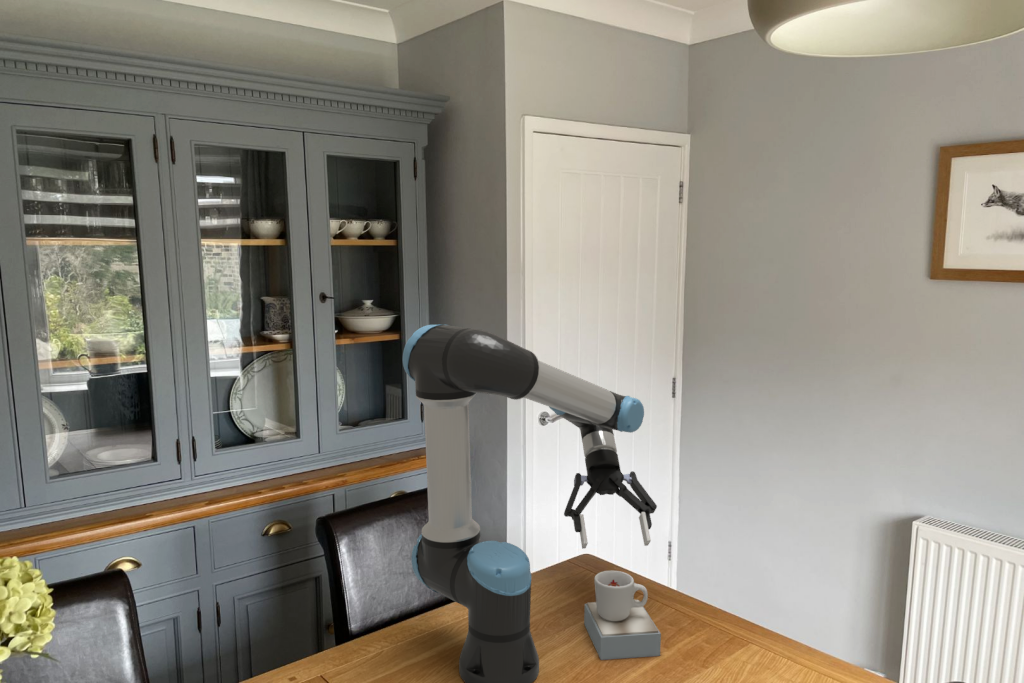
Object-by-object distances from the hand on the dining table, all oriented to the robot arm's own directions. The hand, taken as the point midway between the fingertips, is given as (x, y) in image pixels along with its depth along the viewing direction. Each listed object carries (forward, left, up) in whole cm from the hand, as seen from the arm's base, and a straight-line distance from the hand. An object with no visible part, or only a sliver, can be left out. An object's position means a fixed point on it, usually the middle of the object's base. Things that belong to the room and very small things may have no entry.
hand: (616, 544), depth 157 cm
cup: (-1, -7, -13) cm, 14 cm away
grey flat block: (-1, -7, -17) cm, 19 cm away
